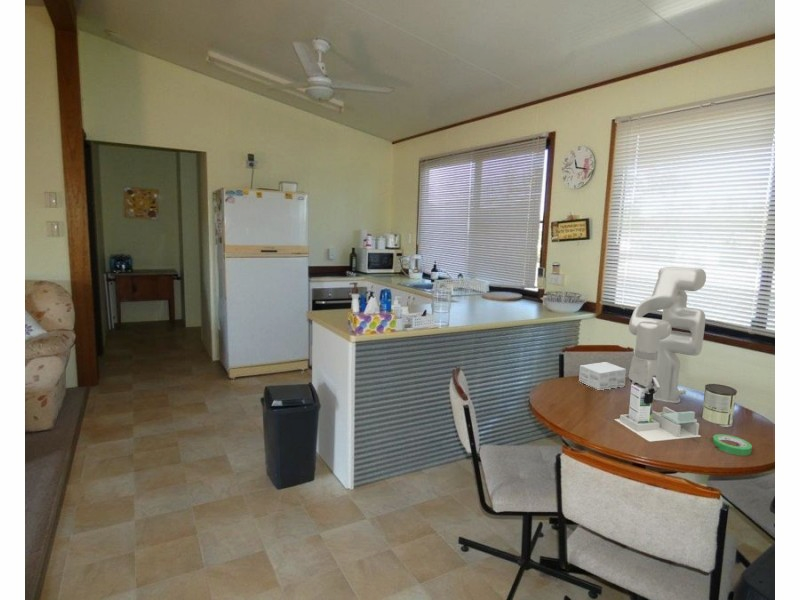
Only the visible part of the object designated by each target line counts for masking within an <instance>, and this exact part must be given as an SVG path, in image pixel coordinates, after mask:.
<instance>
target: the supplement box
mask: <svg viewBox="0 0 800 600" xmlns="http://www.w3.org/2000/svg"><path fill="white" fill-rule="evenodd" d="M626 374H627V368H624V367H622V366H619V365H616V364H613V363H611V362H607V361H602V362H594V363H589V364H581V365H579V376H578V382H579V381H580V382H582V383H584V384H586V385H588V386H590V387H593V388H595V389H597V390H603V391H605V390H604V389H609V390H612V389H611V388H615V389H618V388H617V387H620V388H625V387H624V386H625V385H626ZM588 386H587V387H588ZM590 387H589V388H590ZM597 390H596V391H597Z"/></svg>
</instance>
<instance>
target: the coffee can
mask: <svg viewBox="0 0 800 600" xmlns="http://www.w3.org/2000/svg"><path fill="white" fill-rule="evenodd" d="M737 394H738V391H737V389H736V388H733V387H731V386H728V385H725V384H718V383H707V384H705V385H704V396H703V403H702V412H701V413H702V414H701V418H702V419H703V420H705V421H707V422H710V423H713V424H716V425H717V426H719V427H721V428H730V427H732V426H733V423H734V422H733V421H734V420H733V419H734V415H735V414H734V413H735V412H734V411H735V407H736V406H735V404H736V398H737Z"/></svg>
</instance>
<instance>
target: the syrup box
mask: <svg viewBox="0 0 800 600" xmlns="http://www.w3.org/2000/svg"><path fill="white" fill-rule="evenodd" d="M650 389H651V387H649V390H650ZM645 393H646V387H645V386H642V385H640V384H635V385H634V384H632V385H631V384H630V397H629V408H628V414H629V419H631V420H632V421H634V422H636V423H637V424H643V423H651V419H652V410H653V405H654V402H653V403H650V404H645V403H644V398H645ZM653 398H654V394H653Z"/></svg>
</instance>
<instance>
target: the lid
mask: <svg viewBox="0 0 800 600" xmlns="http://www.w3.org/2000/svg"><path fill="white" fill-rule="evenodd" d="M675 412H676V411H675ZM695 415H696V412H695V411H693V410H690V411H688V410H687V411H678V412H676V413H664V414H662V416H663V417H665V418H667V419H669V420H671V421H673V422H675V423H677V424H680V423H691V422H697V423H698V419H696V418H695Z"/></svg>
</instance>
